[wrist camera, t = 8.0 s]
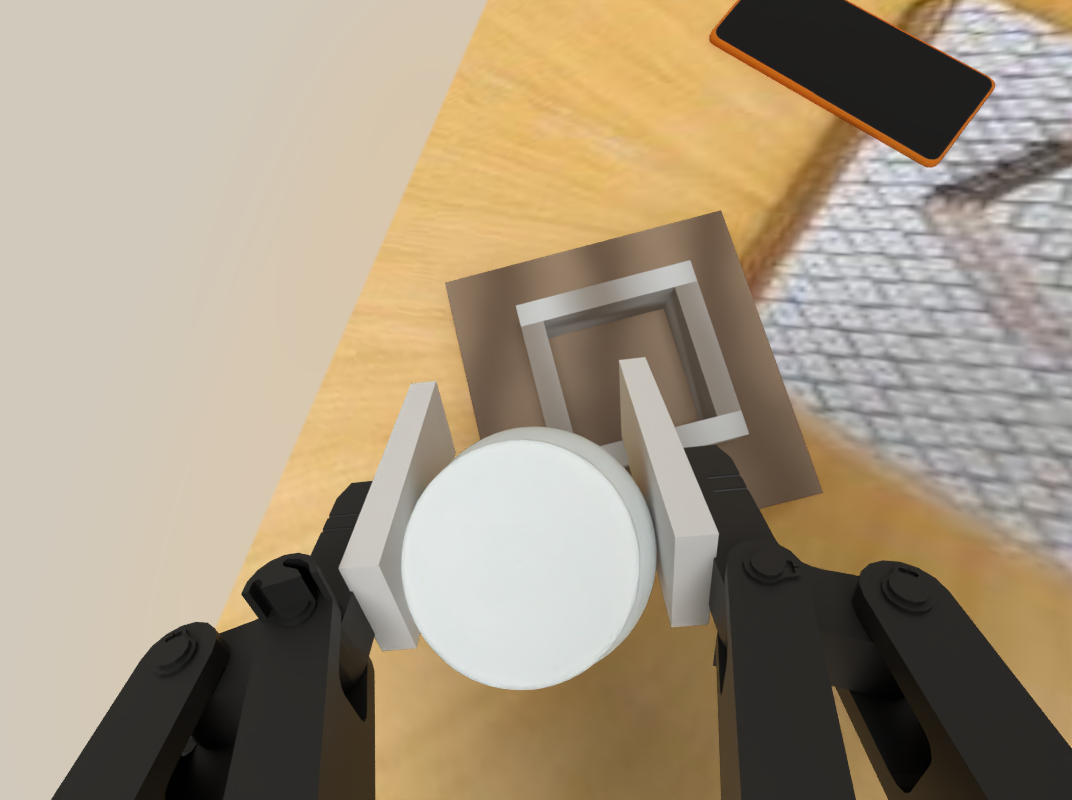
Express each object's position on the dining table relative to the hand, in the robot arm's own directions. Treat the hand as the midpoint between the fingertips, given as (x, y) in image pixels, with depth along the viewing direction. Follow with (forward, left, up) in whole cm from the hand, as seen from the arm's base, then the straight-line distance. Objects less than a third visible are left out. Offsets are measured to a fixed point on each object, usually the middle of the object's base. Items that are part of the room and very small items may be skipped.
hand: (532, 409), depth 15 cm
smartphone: (-25, -20, -14) cm, 35 cm away
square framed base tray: (-5, -3, -14) cm, 15 cm away
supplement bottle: (+1, +4, -3) cm, 5 cm away
